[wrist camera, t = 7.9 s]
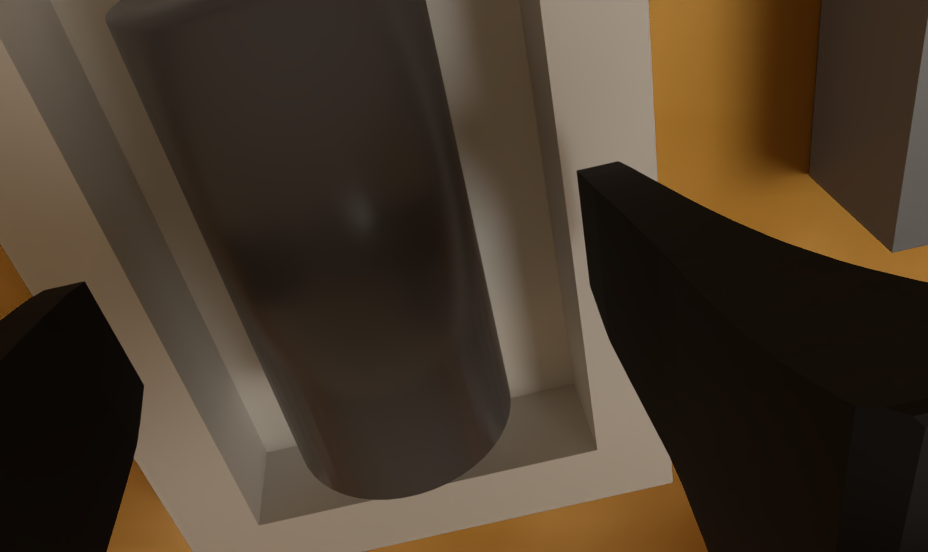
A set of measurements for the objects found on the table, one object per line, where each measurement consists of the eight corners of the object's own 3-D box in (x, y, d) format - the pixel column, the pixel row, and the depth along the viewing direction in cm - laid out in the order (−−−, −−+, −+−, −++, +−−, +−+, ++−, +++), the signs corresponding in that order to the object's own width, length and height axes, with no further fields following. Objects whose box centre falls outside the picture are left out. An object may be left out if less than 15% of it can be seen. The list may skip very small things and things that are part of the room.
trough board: (634, 407, 19) (673, 497, 17) (237, 496, 19) (221, 598, 17) (560, -466, 10) (621, -529, 8) (-189, -295, 10) (-346, -307, 8)
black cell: (500, 326, 16) (522, 477, 13) (312, 361, 16) (286, 518, 13) (404, -133, 11) (400, -79, 8) (138, -73, 12) (29, 3, 8)
